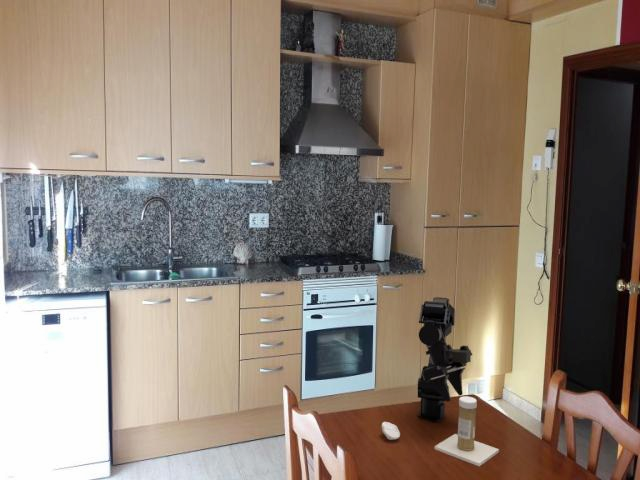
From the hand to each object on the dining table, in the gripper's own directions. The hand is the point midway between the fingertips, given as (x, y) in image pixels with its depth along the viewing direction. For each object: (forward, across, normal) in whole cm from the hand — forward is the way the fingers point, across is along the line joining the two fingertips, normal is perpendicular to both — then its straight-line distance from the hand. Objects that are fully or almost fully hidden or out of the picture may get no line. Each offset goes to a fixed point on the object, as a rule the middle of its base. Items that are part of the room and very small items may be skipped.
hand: (454, 398), depth 156 cm
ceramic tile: (+13, -6, -1) cm, 14 cm away
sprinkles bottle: (+12, -6, -1) cm, 14 cm away
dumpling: (+5, -12, +17) cm, 21 cm away
